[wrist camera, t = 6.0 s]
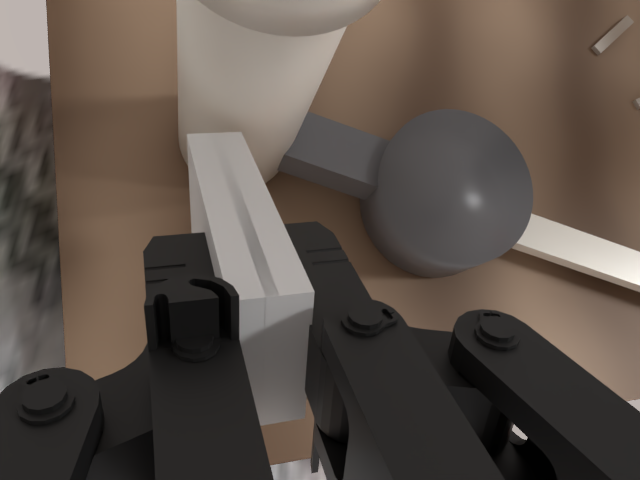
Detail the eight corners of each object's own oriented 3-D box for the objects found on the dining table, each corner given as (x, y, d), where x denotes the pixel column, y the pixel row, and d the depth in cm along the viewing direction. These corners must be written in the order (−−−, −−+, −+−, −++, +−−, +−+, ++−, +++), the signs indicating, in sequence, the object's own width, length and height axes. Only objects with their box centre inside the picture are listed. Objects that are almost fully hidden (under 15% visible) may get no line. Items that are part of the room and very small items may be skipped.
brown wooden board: (659, -4, 28) (688, -28, 26) (763, 370, 24) (804, 369, 23) (53, -11, 22) (43, -42, 20) (81, 491, 18) (71, 501, 17)
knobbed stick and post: (739, 250, 23) (1191, 141, 13) (730, 378, 22) (1228, 373, 11) (194, 51, 20) (206, -302, 10) (142, 185, 19) (94, -60, 8)
